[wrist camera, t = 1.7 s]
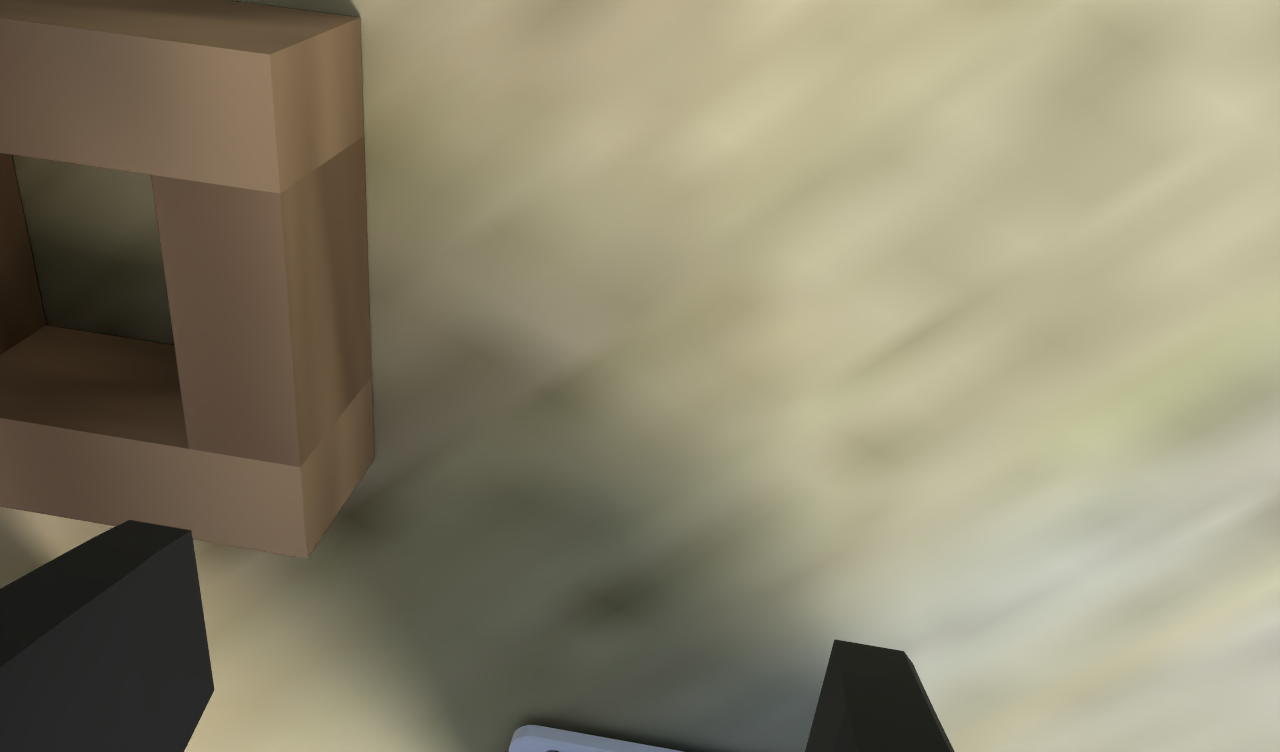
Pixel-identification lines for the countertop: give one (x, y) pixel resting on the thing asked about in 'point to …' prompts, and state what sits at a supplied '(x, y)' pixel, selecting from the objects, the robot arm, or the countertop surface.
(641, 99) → the countertop surface
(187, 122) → the block
